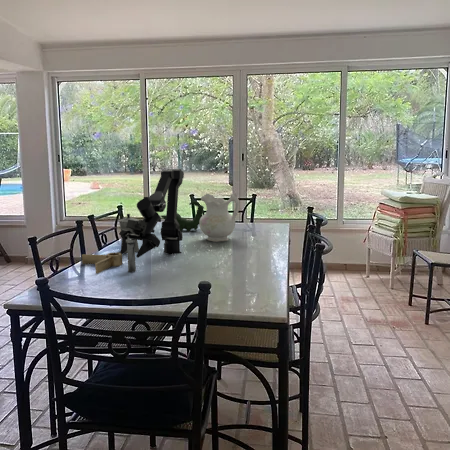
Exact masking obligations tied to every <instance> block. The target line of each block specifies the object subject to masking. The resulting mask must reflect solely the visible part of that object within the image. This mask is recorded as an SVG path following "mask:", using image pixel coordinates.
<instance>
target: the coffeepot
mask: <svg viewBox="0 0 450 450" xmlns="http://www.w3.org/2000/svg"><path fill="white" fill-rule="evenodd" d="M128 220H134V221H139V219H138V218H133V217H131V214H130V213H127V214H126V217H125V216H122V217H121V218H120V219H119V220H118V222H119V227H120V231H121V230H130V232H131V233H132V234H135V233H134V232H132V229H130V228H126V225H127V222H128ZM138 241H139V240H136V242H135V253H138V251H139V249H140V247H139V243H138ZM120 246H121V247H122V243H121V245H120ZM121 247H120V248H121ZM124 254H127V251H126V252H125V253H124Z"/></svg>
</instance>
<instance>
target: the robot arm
mask: <svg viewBox="0 0 450 450" xmlns="http://www.w3.org/2000/svg"><path fill="white" fill-rule="evenodd" d="M184 178H185V173H184V171H183V170H182V169H181V168H167V169H163V170H161V171H160V177H159V180H158V182H157V185H156V186H155V187H156V188H155V190H154V192H153V193H152V194H151V195H149V196H144V197H143V198H141V199H140V200H139V201H138V202H137V203H136V208H137V210H138V211H139V213H140V215H141V217H142V218H143V219H138V221H134V220H128V222H127V225H126V228H130V229H132V232H134V233H135V234H132V233H131V232H130V230H121V229H120V232H119V236H120V238H121V244H122V247H120V252H119V253H121V254H122V255H123V254H126V253H125V252H126V251H127V243H126V239H136V240H137V241H142V243H141V245H140V247H139V251H138V252H136V254H135V258H140V257H141V256H143V255H144V254H147V253H148V252H149V251H151V250H153V249H156V248H159V247H160V245H161V241H164V243H163V253H164V254H167V255H171V256H172V255H177V254H182V251H181V248H180V247H181V246H180V245H181V241H183V232H182V231H181V230H180V228H179V223H178V221H177V219H176V217H177V213H178V201H179V199H178V198H179V189H180V187H181V186H182V184H183V180H184ZM166 197H167V198H166ZM165 199H167V201H166V200H165ZM165 209H166V219H163V221H162V217H161V215H160V214H159V213H163V212H164V211H165ZM158 222H159V223H161V228H160V235H161V240H160V239H159V238H158V236H156V234H155V231H156V230H155V227H156V226H157V224H158Z"/></svg>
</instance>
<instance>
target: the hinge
mask: <svg viewBox="0 0 450 450" xmlns="http://www.w3.org/2000/svg"><path fill="white" fill-rule="evenodd" d="M81 261H82V265H95V267H94V268H95V274H99V273H102V272H104V271H106V270H108V269H110V268H111V267H120V266H122V265H124V264H123V254H121V253H120V252H116V251H115V252H108V253H107V254H84V253H83V254H81Z"/></svg>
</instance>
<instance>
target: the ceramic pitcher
mask: <svg viewBox="0 0 450 450" xmlns="http://www.w3.org/2000/svg"><path fill="white" fill-rule="evenodd" d="M200 200H201V201H202V202H203V203H205V207H206V212H205V213H203V214H202V217H201V218H200V221H199V225H198V226H199V229H200V231H201V233H202V234H203V235H204V236H207V238H206V240H207V241H208V242H215V243H218V242H228V241H229V238H228V236H230V235H231V234H232V233H233V232H234V231H235V228H236V217H237V216H238V213H239V211H240V200H239V198H238V195H237V194H236V193H232V194H230V197H229V199H228V200H227V199H226V200H225V199H224V198H223V197H215V195H213V194H210V193H206V194H203V195H202V196H201V197H200ZM232 202H234V203H235V208H234V210H233V213H232V214H230V213H229V205H230V203H232Z"/></svg>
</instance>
